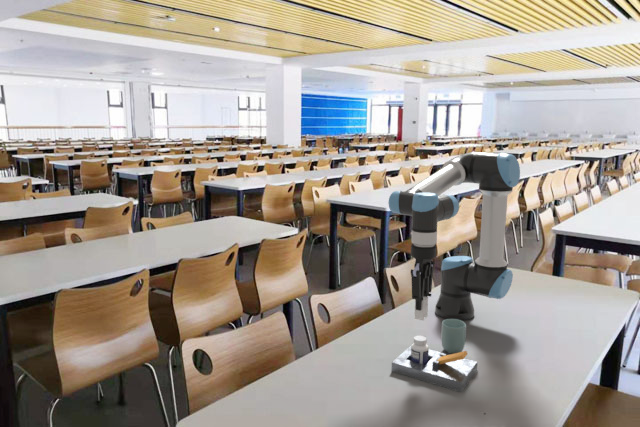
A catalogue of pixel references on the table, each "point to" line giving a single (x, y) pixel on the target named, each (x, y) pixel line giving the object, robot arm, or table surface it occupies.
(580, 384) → the table surface
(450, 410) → the table surface
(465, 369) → the hitch plate
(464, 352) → the lever
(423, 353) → the pill bottle
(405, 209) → the robot arm
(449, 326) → the cup
